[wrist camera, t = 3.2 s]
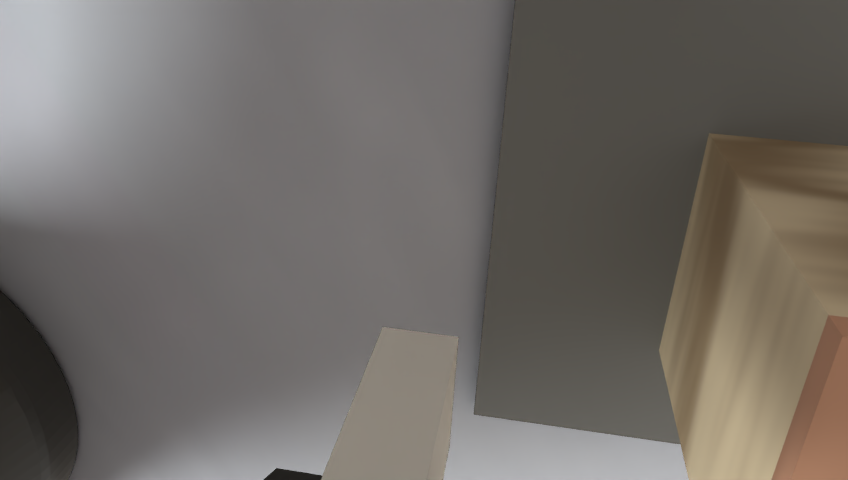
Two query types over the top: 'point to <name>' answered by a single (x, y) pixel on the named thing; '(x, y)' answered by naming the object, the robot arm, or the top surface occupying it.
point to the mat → (628, 185)
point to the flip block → (762, 314)
